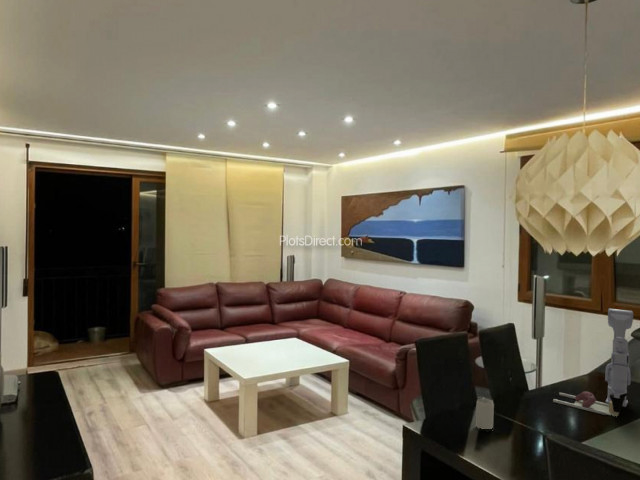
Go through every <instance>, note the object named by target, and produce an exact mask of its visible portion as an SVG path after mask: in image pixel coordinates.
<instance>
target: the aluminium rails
mask: <svg viewBox="0 0 640 480" xmlns="http://www.w3.org/2000/svg"><path fill="white" fill-rule="evenodd" d="M558 396H560V397H564V398H569V399H572V400H573V399H574V400H575V397H576V396H577V395H573V394H568V393H564V392H558ZM552 403H556V404H559V405H563V406H564V405H565V406H567V407H572V408H574V409H580V410H584V411H587V412H591V413H595V414H600V415H604V416H607V412H605V411H601V410H597V409H592V408H588V407H584V406H580V405H576V404H574V403H571V402H568V401H563V400H559V399H556V398H553V400H552ZM595 404H599V405H604V406H608V407H609V403H606V402H602V401H598V400H596V402H595Z"/></svg>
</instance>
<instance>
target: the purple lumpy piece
mask: <svg viewBox="0 0 640 480" xmlns="http://www.w3.org/2000/svg"><path fill="white" fill-rule="evenodd" d="M575 396H576V397H575V399H574V400H575V402H576V401H581V400H583V402H584V403H583V404H582V406H584V407H590V406H591V405H593V404H594V403H595V402H596V401H597V400H596V399H597V398H596V397H595V395H594V394H593V393H592V392H590V391H586V390H584V391H582V392H581V393H580V394H577V395H575Z"/></svg>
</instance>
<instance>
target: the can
mask: <svg viewBox="0 0 640 480" xmlns="http://www.w3.org/2000/svg"><path fill="white" fill-rule="evenodd" d="M494 408H495V404H494V400H493V398H492V397H488V396H478V397H477V400H476V407H475V427H476V426H477V427H478V428H481V429H492V428H493V429H494V413H495V411H494Z"/></svg>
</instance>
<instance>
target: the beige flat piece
mask: <svg viewBox="0 0 640 480" xmlns="http://www.w3.org/2000/svg"><path fill="white" fill-rule="evenodd" d="M583 403H584V402H583V400H581V401H576V400H575V402H574V403H573V404H576V405H580V406H582V404H583ZM608 404H609V407H608V406H604V405H599V404H595V403H594V404H593V405H591V406H590V407H588V408H592V409H597V410H601V411H605V412H607V414H606V416H607V415H608V416H611V415H612V417H615V416H616V417H615V418H618V417H617V416H619V414H620V413H618V412H614V410H613V404H612V401H610V402H609V403H608Z"/></svg>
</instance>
